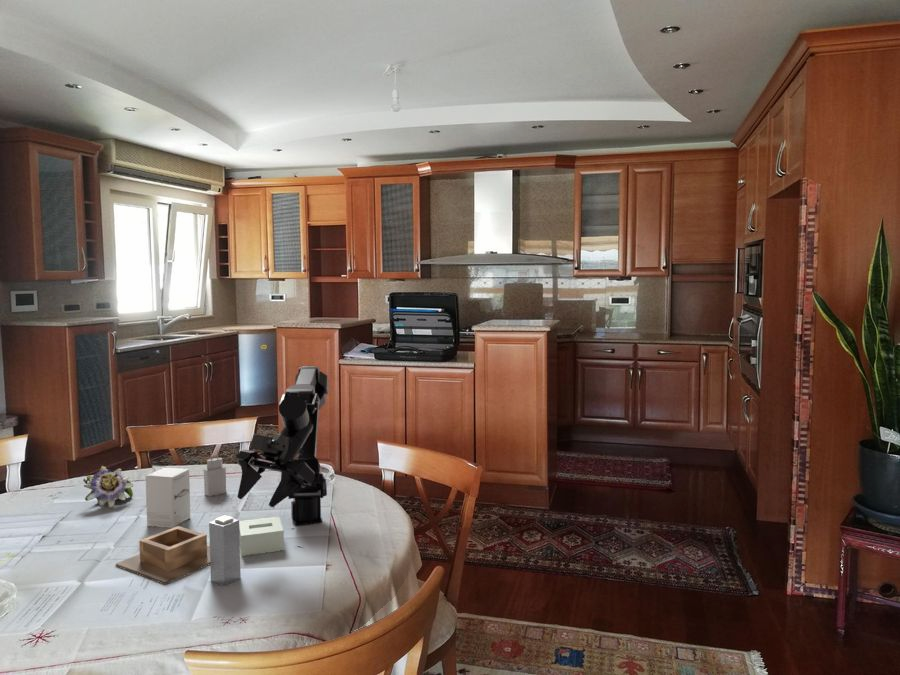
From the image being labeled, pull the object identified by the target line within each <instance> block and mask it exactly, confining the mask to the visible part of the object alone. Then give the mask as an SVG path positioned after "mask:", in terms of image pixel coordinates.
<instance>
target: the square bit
mask: <svg viewBox="0 0 900 675" xmlns="http://www.w3.org/2000/svg"><path fill="white" fill-rule="evenodd" d="M239 521H240V520H239V519H236V518H234V517H232V516H228V515H225V514H224V515H223V516H219V517H217V518H215V519H214V520H213V521H212V520H211V521H209V522H208V527H209V528H208V531H209V532H208V535H209V536H208V537H209V546H210V564H209V565H210V566H209V567H210V582H212V583H215V584H218V585H221V586H224V587H225V586H228V585H230V584H232V583H234V582H236V581H237V580H240V579H241V550H240V533H239Z"/></svg>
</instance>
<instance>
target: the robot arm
mask: <svg viewBox="0 0 900 675" xmlns="http://www.w3.org/2000/svg"><path fill="white" fill-rule="evenodd" d="M328 379H329V377H328V375H327V374H325V373H324V372H322V371H320V367H318V366H315V365H314V366H313V365H307V366H306V365H304V366H303V365H302V366H299V367H298V373H296V375H295V377H294V385H291V386H288V387H287V388H286V389H285V393H282V395H281V399H280V401H279V404H278V412H279V415H280V418H281V422H282V426H283V428H282V429H281V430H280V432H279V434H278V433H274V434H273V435H272V436H268V435H264V434H258V433H253V435H252V438H251V442H250V445H249V450H248V449H242V450H239V452H238V454H237V456H236V457H235V460H236V461H237V462H238V465H239V466H240V469H241V477H240V478H241V479H240V481H239V482H240V483H239V488H238V492H237V498H238V500H243V498H244V497H245V496H246V495H247V494H248V493H249V492H250V491H251V490H252V489H253V488H254V486H255V485H256V484H257V483H258V482H259V481H260V479H261V478H262V477H263V476H262V475H261V474H262V473H264V472H265V471H266V470H269V471H273V472H279V473H280V475H281V476H280V481H279V483H278V485H277V487H276V489H275V491H274V492H273V494H272V496H271V499H270V501H269V503H268V506H269V507H270V508H274V507H275V506H276V505H278V504H279V503H281V502H283V501H284V500H285V499H287V498H288V500H291V499H293V500H292V501H290V512H291V513H290V514H291V516H290V518H291V521H293V523H294V525H295V526H303V525H311V524H317V523H323V518H322V512H321V511H322V510H321V509H322V506H321V505H322V503H321V501H322V500H321V499H323V498H324V497H326V496H327V495H328V490H327V489H328V488H327V487H328V486H327V479H326V478H325V476H324V473H322V469H321V464H320V462H319V459H318V458H317V450H318V449H317V446H318V433H319V418H320V414H319V413H320V410H321V409H322V407H323V406H324V405H325V403H326V401H327V400H326V399H327V395H329V391H330V390H329V389H330V388H329V387H330V385H329V380H328ZM250 449H251V450H250ZM254 449H255V450H258V451H260V452H259V453H258V452H257V451H253V450H254ZM263 457H264V458H263Z"/></svg>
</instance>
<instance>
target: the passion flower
mask: <svg viewBox="0 0 900 675" xmlns="http://www.w3.org/2000/svg"><path fill="white" fill-rule="evenodd" d="M121 473H122V468H117V469H116V470H114V471H111V470H110V469H107V467H106V466H104V465H101V467H100V469H99V471H98V472H96V473H95V474H94V475H87V476H86V478H83V481H82V482H84V483H85V484H84V485H83V487H84V488H87V489H88V490H89V489H90V490H91V491H90V492H89V493H88V494H87V495H86V496H85V498H84V500H85V501H91V500H93V499H95V498H96V500H97V504H98V506H99V507H100V508H101V507H103V506H104V505H105V506H107V507H108V508H109V509H112V508H113V507H114V506H115V503H116V499H118V500H120V501H125V500H126V497H127V496H126V495H125V493H126V494H127V495H128V496H129V498H130V499H132V498H133V496H134V492H133V489H132V488H134V484H133V483H132V482H131V481H130V480H129V479H130V476H128V475H126V476H123V475H121Z"/></svg>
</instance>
